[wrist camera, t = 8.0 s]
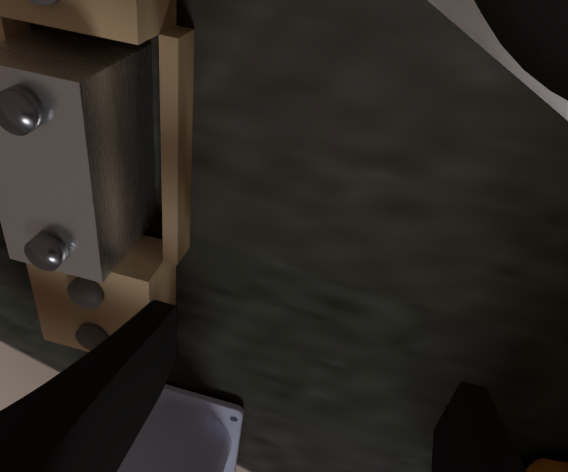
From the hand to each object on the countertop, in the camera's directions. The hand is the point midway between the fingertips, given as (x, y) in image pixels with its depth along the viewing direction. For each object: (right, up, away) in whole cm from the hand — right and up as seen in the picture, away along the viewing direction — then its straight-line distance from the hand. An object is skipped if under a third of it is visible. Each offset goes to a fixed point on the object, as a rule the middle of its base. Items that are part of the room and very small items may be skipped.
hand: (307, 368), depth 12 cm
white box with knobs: (-8, +8, +9) cm, 14 cm away
